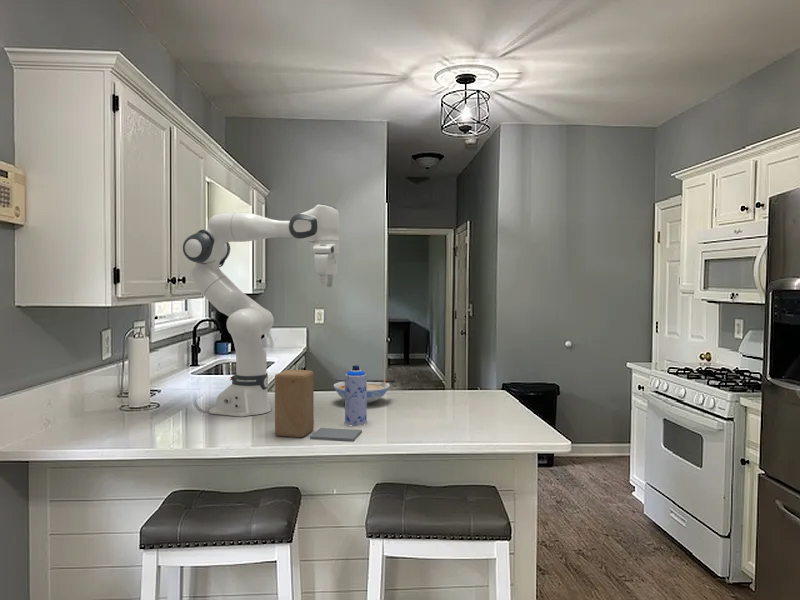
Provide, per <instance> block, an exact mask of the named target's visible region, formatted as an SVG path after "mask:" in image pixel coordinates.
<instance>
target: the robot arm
mask: <svg viewBox="0 0 800 600" xmlns="http://www.w3.org/2000/svg"><path fill="white" fill-rule="evenodd" d="M339 232H340V213H339V210H338V209H337V208H336V207H335V206H333V205H329V204H324V203H318V204H317V205H316V206H314V207H313V208H311V209H309V210H307V211H304V212H301V213H297V214H295V215H293V216H292V217H290V220H277V219H272V218H269V217H266V216H262V215H259V214H255V213H250V212H243V211H230V212H224V213H222V212H221V213H218V214H214V215H213V216H211V217H210V219H209V221H208V228H207V229H206V230H205V229H200V230H198V231H197V232H195V233H193V234H191V235H189V236H187V238H186V239H184V241H183V244H182V252H183V254H184V256H185V257H186V258H187V259H188V260H189V261H191V262H193V263H195V266H193V268H192V269H191V271H190V279H191V281H192V283H193V284H194V286H195V287H196V288H197V290H198V291H199V292H200V294H202V295H203V297H205V299H206V300H207V301H208V302H210V303H211V305H212V306H213V307H214V308H216V309H217V311H218V312H220V313H222V314H224V315H225V316H227V317H228V318H227V319H226V329H227V331H228V333H229V334H230V336H231V338H232V341H233V344H234V345H233V346H234V349H235V350H234V351H235V360H236V362H235V364H236V365H235V368H236V369H235V371H236V374H234V375H231V376H230V377H229V381H231V384H230V385H229V386H227V388H225V389H224V390H222V391H221V392H220V393H219V394H218V395H217V397H216V400H215V406H213V407H211V408H210V409H209V410H208V411H209V412H208V413H209V414H213V415H224V416H231V417H248V416H255V415H261V414H266V413H269V412H271V411H272V409H271V408H272V407H271V405H270V404H271V403H270V401H269V392H268V386H269V376H268V372H267V351H266V350H265V348H264V345H263V341H262V336H264V335H265V334H267V333H268V332H269V331H270V330H271V329H272V328H273V326H274V321H275V318H274V316H273V313H271V312H270V311H271V310H268V309H266V308H264V307H263V306H262V305H260V304H259V303H258V302H257V301H255V300H254V299H252V298H251V297H250V296H248V295H247V294H245V293H244V292H243V291H242V290H241V289H240V288H238V286H237V285H235V283H234V282H233V281H232V280H231V279H230V278H229V277H228V276H227V275H226V274H225V273H224V272H223V271H222V270H221V267H223V266H224V264H225V262H226V260H227V259H228V257H229V256H230V252H231V246H230V242H233V243H234V242H235V243H237V242H239V243H241V242H242V243H243V242H244V243H245V242H252V241H259V240H264V239H271V238H295V239H297V240H300V241H305V242H309V243H313V244H314V245H313V246H312V254H314V256H313V259H314V260H313V263H314V271H315V275H319V282H320V288H322V289H325V288H332V287H333V283H334V279H335V278H334V276H337V274H338V257H337V255H340V238H339Z"/></svg>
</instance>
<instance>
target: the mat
mask: <svg viewBox="0 0 800 600" xmlns="http://www.w3.org/2000/svg"><path fill="white" fill-rule="evenodd" d="M362 432H363V430H362V429H355V428H335V427H333V428H331V427H319V428H318V429H317V430H316V431H315V432H313V433H312V434H311V435H310V436H309V439H310V440H319V441H320V440H322V441H340V442H355V440H356V439H357V438H358V437H359V436H360V435H361V434H362Z"/></svg>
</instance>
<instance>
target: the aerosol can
mask: <svg viewBox="0 0 800 600" xmlns="http://www.w3.org/2000/svg"><path fill="white" fill-rule="evenodd" d="M367 377H368V376H367V373H366V372H365V371H364V370H362V369H360V366H359V365H352V369H350V370H348V371H347V373H345V376H344V380H345V399H344V425H347V426H349V425H352V427H360V426H359V425H361V426H365V425H367V424H368V421H367V415H368V414H367V413H368V412H367V411H368V410H367V409H368V408H367V405H368V404H367V380H368V378H367ZM366 423H367V424H366ZM364 424H365V425H364Z"/></svg>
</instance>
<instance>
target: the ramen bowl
mask: <svg viewBox="0 0 800 600" xmlns="http://www.w3.org/2000/svg"><path fill="white" fill-rule="evenodd" d="M334 382H336V383H334V384H333V387H334V390H335V391H336V393H337V394H338V396H339V397H340V398H342V399H343V400H345V379H344V380H340V379H339V380H334ZM395 382H396V380H395V379H377V380H375V379H373V380H372V379H367V405H369V404H372V402H375V401H377V400H378V401H379V399H381V398H383V397H384V396H385V394H386V393H387V392H388V390H389V388H390V383H395Z"/></svg>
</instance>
